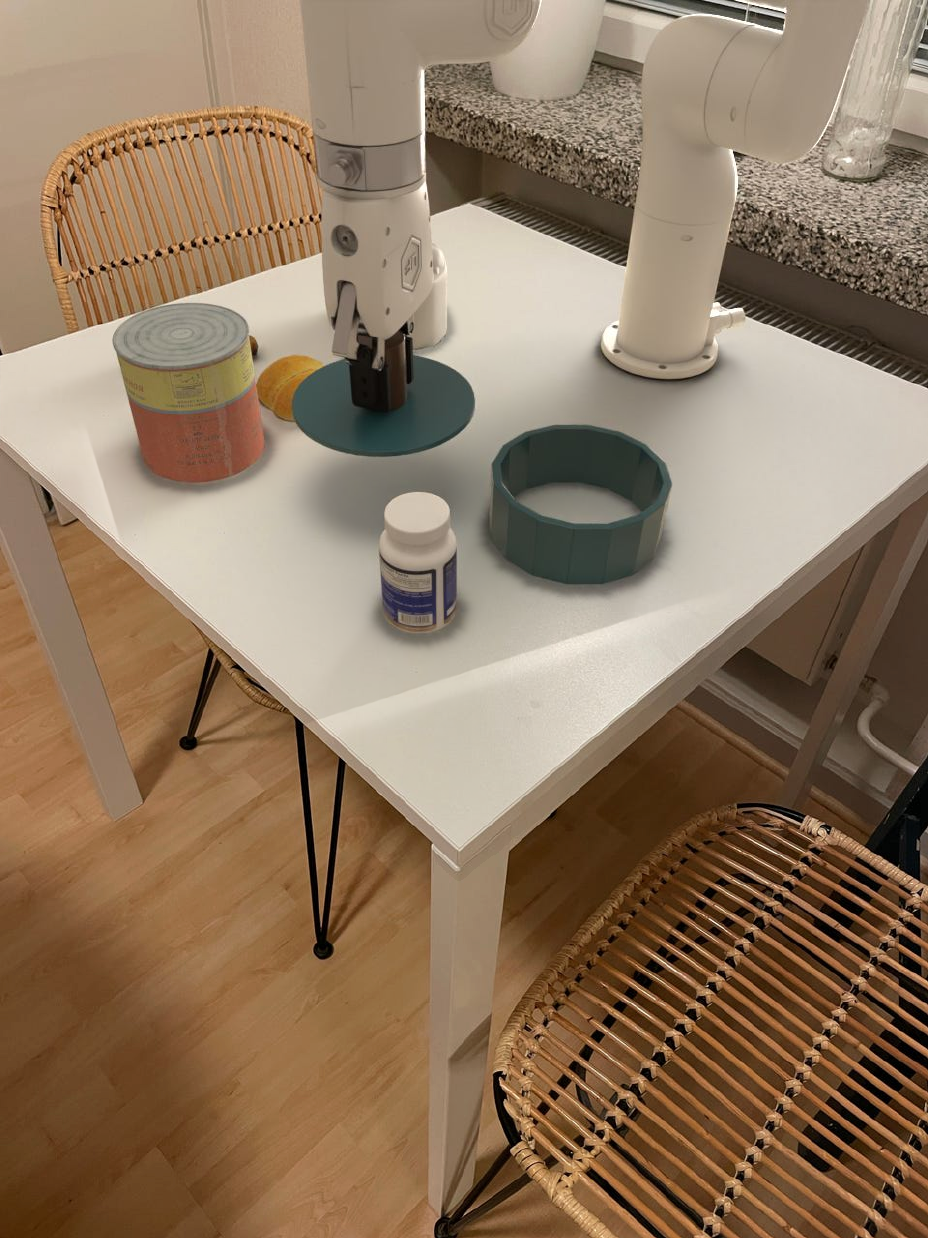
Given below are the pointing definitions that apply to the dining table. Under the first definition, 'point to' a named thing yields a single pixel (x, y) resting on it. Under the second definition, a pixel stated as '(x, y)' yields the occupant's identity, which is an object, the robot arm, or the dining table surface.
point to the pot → (567, 545)
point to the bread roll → (284, 382)
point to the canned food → (191, 390)
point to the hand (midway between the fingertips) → (383, 391)
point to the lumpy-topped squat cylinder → (432, 307)
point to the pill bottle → (418, 563)
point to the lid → (415, 416)
